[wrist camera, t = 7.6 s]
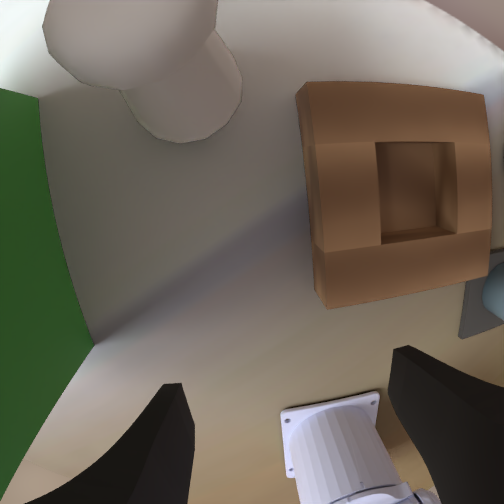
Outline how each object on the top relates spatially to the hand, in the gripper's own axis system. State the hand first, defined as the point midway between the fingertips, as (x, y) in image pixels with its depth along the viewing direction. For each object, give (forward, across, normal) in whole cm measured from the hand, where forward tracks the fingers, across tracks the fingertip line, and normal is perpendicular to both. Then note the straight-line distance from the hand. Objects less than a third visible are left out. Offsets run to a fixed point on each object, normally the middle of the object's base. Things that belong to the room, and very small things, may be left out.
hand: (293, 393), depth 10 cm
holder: (+10, -9, -5) cm, 15 cm away
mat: (+10, -19, +4) cm, 22 cm away
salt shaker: (+11, +3, -12) cm, 16 cm away
